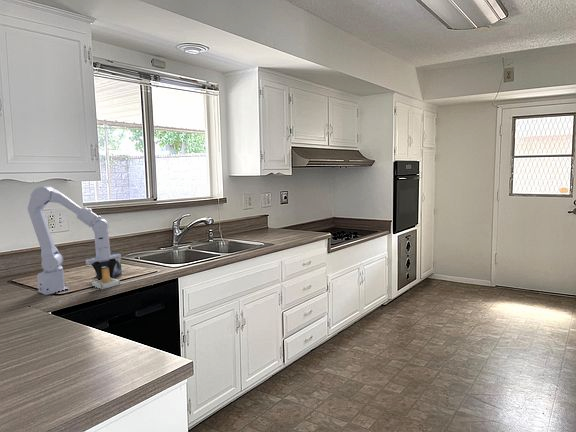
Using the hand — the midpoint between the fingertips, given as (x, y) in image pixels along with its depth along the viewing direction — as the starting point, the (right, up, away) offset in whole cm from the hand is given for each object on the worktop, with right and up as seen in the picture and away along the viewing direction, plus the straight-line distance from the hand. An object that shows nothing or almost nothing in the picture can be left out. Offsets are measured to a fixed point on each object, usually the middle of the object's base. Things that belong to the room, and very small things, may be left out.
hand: (105, 277), depth 189 cm
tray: (0, -3, 0) cm, 3 cm away
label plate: (-9, -2, +18) cm, 20 cm away
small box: (-4, -2, +15) cm, 15 cm away
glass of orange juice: (0, -2, 0) cm, 2 cm away
